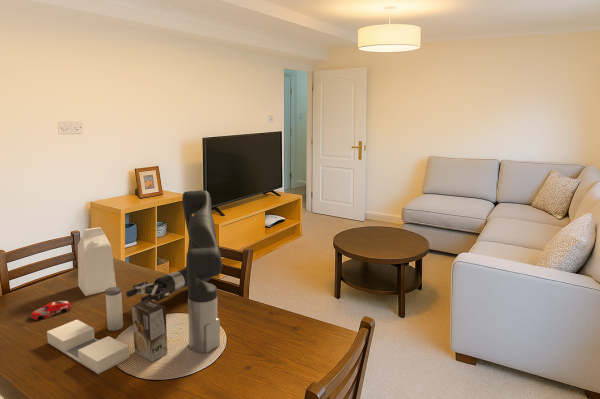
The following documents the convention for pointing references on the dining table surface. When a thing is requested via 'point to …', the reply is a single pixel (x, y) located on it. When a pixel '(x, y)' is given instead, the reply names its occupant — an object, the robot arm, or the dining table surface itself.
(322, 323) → the dining table surface
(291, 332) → the dining table surface
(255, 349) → the dining table surface
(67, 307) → the race car
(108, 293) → the grey-capped white cylinder
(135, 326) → the coffee box
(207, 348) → the robot arm
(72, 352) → the white block holder
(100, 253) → the milk
